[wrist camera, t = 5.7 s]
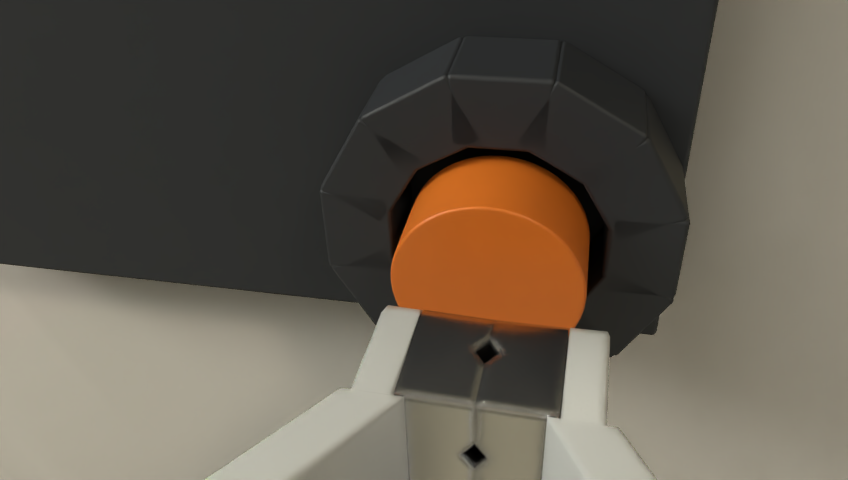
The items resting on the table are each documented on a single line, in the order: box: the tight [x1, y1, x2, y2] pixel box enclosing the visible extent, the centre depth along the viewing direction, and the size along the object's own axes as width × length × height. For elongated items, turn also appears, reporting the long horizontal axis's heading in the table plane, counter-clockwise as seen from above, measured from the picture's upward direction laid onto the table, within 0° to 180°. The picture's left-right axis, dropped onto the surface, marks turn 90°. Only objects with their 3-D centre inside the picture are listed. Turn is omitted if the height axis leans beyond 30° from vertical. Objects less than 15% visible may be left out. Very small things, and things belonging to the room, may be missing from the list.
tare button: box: [391, 155, 590, 334], centre depth 13 cm, size 3×3×2 cm
